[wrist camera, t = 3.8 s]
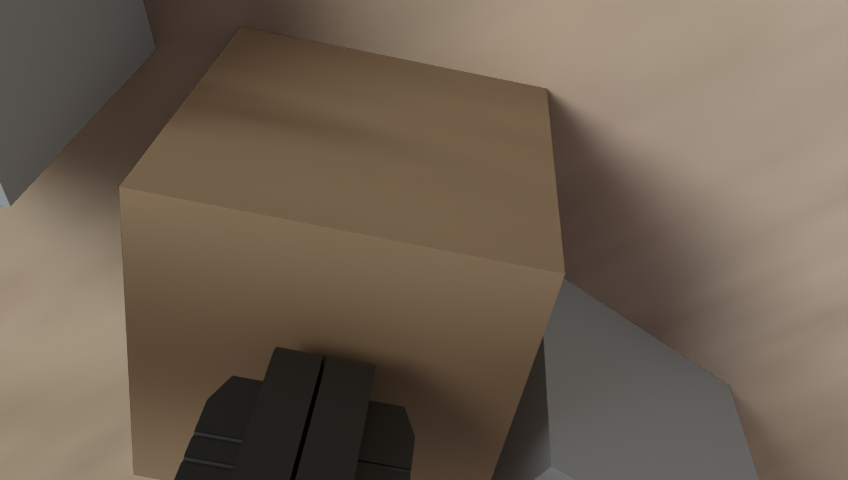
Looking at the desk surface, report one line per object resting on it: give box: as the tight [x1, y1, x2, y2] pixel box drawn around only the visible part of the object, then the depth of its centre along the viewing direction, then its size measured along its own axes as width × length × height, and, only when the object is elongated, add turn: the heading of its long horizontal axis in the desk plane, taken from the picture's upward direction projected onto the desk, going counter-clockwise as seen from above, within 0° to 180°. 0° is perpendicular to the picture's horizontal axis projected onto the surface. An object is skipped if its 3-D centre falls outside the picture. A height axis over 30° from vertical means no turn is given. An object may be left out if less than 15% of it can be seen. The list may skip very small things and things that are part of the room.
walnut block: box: [119, 27, 565, 480], centre depth 15 cm, size 6×6×6 cm
